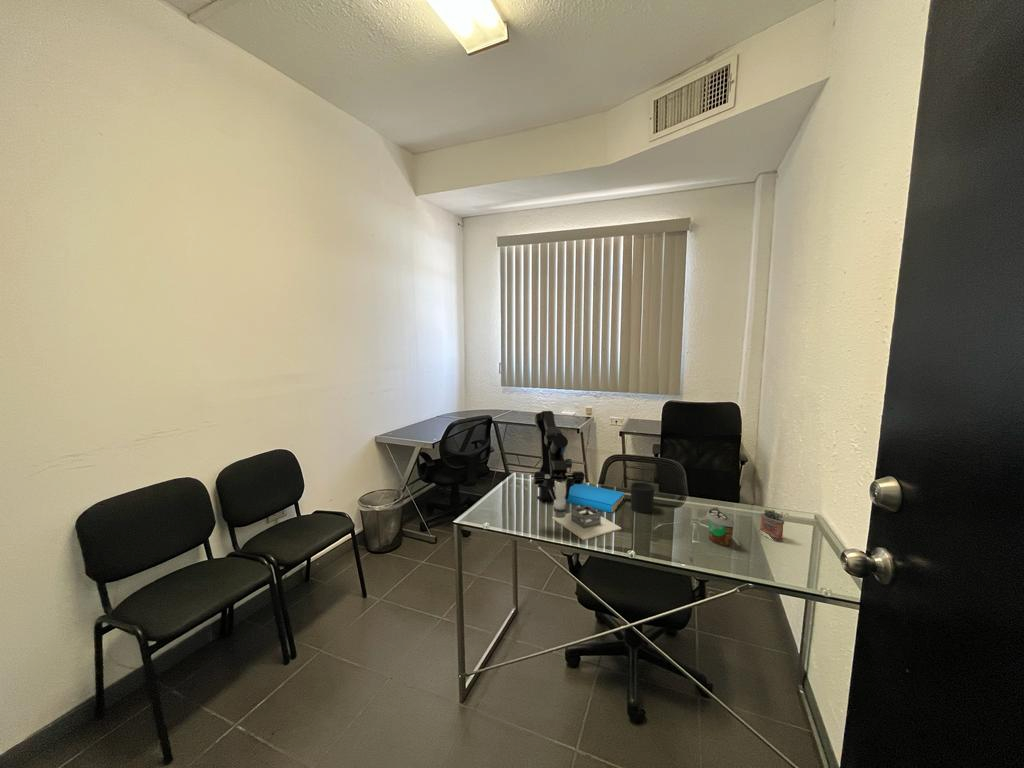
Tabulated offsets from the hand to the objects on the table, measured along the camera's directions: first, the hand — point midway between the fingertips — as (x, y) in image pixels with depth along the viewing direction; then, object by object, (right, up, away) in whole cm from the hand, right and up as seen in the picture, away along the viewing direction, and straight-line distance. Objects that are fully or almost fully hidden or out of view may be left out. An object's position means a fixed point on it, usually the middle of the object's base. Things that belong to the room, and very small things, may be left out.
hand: (560, 499), depth 146 cm
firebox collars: (+11, -12, +10) cm, 20 cm away
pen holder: (+37, -11, +25) cm, 46 cm away
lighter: (+77, -14, 0) cm, 78 cm away
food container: (+55, -14, -2) cm, 57 cm away
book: (+18, -11, +34) cm, 40 cm away
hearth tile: (+11, -12, +10) cm, 20 cm away
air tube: (0, -6, +2) cm, 7 cm away
